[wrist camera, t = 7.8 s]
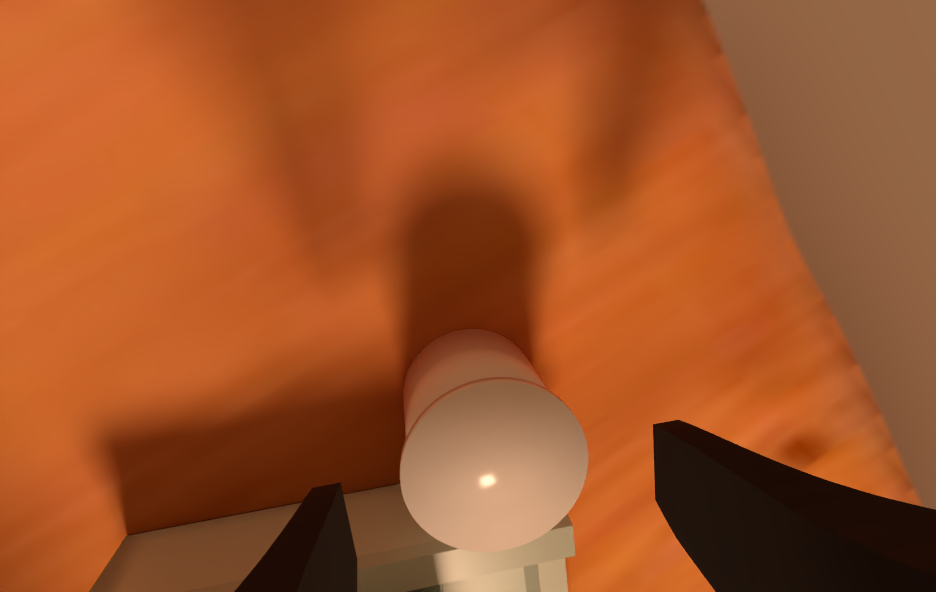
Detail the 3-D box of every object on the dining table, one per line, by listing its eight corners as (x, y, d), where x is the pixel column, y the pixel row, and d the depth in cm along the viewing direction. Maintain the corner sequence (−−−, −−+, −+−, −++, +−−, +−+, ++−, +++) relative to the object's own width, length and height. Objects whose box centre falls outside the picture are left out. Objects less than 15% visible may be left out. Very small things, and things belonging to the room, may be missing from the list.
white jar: (408, 467, 18) (415, 568, 14) (385, 336, 17) (385, 401, 12) (545, 441, 18) (594, 531, 14) (532, 311, 17) (581, 366, 13)
